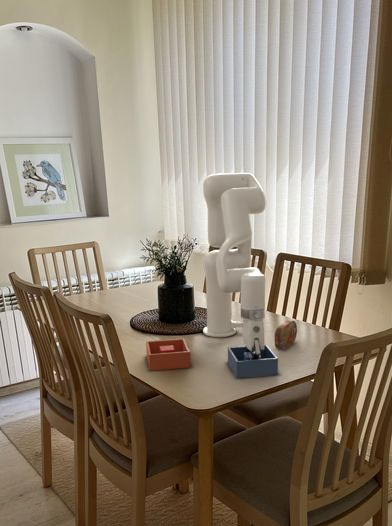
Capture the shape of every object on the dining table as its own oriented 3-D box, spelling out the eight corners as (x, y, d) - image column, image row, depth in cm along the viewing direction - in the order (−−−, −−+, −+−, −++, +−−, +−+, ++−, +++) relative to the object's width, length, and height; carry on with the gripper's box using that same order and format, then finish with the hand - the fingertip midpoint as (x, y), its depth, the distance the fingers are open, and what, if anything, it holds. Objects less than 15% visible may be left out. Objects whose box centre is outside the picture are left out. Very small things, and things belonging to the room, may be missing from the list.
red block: (173, 357, 187) (172, 345, 185) (175, 362, 182) (174, 349, 181) (160, 358, 186) (159, 346, 184) (161, 363, 182) (160, 350, 180)
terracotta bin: (184, 353, 191) (184, 338, 190) (190, 367, 179) (189, 351, 177) (146, 356, 190) (146, 341, 188) (150, 370, 177) (149, 354, 175)
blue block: (256, 364, 179) (257, 351, 178) (260, 369, 175) (260, 356, 173) (243, 365, 179) (243, 352, 177) (246, 370, 174) (247, 357, 173)
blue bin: (266, 359, 184) (266, 344, 182) (277, 374, 172) (278, 358, 170) (227, 362, 182) (227, 347, 180) (236, 378, 170) (236, 361, 168)
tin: (280, 353, 189) (281, 330, 186) (272, 351, 191) (272, 328, 188) (297, 340, 201) (298, 318, 198) (289, 338, 203) (290, 317, 200)
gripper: (272, 320, 163) (270, 376, 169) (257, 304, 179) (256, 356, 185) (247, 321, 162) (247, 378, 168) (234, 306, 178) (234, 358, 184)
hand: (252, 366), depth 177 cm, fingers open, 4 cm apart
